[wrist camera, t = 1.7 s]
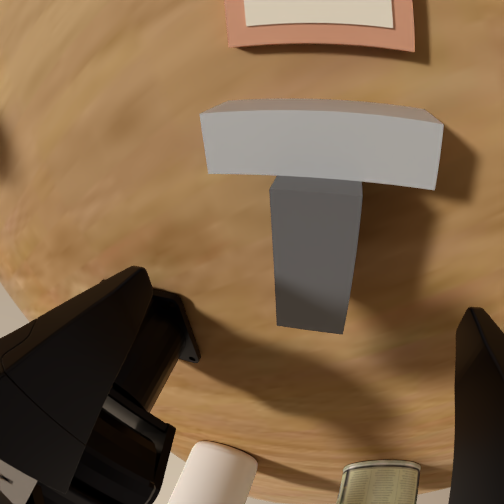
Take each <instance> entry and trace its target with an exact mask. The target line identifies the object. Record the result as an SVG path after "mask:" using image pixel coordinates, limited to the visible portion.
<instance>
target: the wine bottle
mask: <svg viewBox="0 0 504 504" xmlns="http://www.w3.org/2000/svg"><path fill="white" fill-rule="evenodd" d="M257 467H258V464H257V461H256V460H255V459H254V458H253V457H252V456H250V455H249V454H247V453H245V452H243V451H240V450H238V449H235V448H233V447H230V446H227V445H223V444H220V443H215V442H210V441H200V442H197V443H196V444H195V445H194V447H193V448H192V450H191V453H190V455H189V457H188V459H187V461H186V464H185V466H184V468H183V470H182V473H181V475H180V477H179V479H178V482H177V484H176V486H175V488H174V490H173V493H172V495H171V497H170V499H169V501H168V503H167V504H245V502H246V500H247V497H248V494H249V491H250V489H251V486H252V483H253V480H254V477H255V474H256V472H257Z"/></svg>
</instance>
